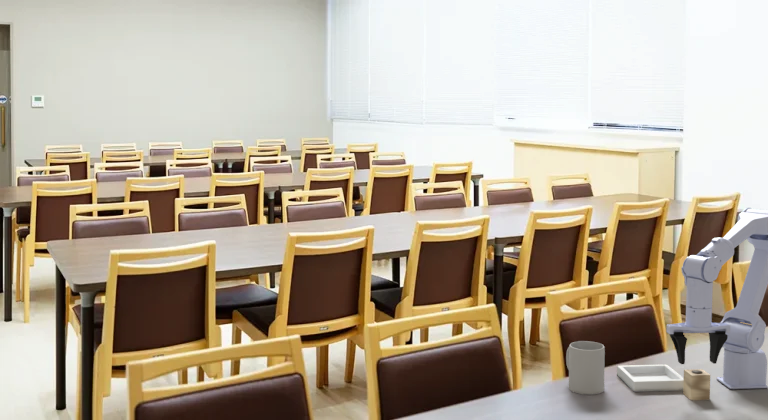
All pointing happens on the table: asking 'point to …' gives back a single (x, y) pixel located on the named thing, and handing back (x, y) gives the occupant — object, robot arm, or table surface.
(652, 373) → the tray
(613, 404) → the table surface
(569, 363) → the mug
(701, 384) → the bore block
